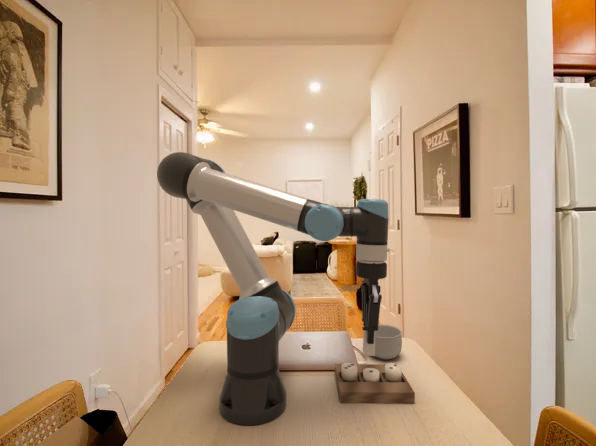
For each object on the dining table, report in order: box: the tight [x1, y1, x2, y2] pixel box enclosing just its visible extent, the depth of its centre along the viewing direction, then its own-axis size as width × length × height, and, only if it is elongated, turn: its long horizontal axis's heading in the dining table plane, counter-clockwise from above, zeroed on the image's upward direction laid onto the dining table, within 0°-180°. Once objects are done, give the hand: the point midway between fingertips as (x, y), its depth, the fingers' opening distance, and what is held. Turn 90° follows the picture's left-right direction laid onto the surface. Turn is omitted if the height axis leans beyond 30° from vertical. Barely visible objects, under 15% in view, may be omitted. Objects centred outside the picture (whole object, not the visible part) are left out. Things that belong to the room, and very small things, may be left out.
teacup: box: [374, 324, 403, 360], centre depth 101 cm, size 14×11×8 cm
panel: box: [334, 363, 416, 405], centre depth 81 cm, size 17×14×2 cm
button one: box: [363, 368, 379, 382], centre depth 81 cm, size 4×4×3 cm
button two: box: [385, 362, 403, 381], centre depth 81 cm, size 4×4×3 cm
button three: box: [341, 362, 357, 381], centre depth 81 cm, size 4×4×3 cm
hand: (368, 354), depth 81 cm, fingers closed
